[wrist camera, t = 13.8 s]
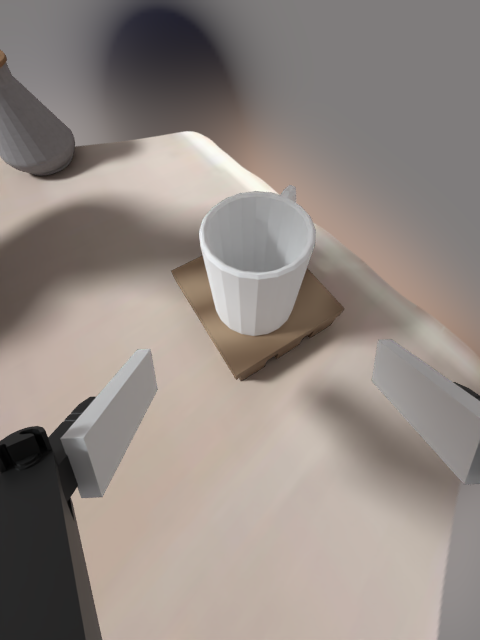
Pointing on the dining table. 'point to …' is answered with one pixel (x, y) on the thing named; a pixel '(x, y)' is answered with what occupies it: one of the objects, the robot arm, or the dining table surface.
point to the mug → (256, 258)
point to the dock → (253, 351)
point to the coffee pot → (30, 130)
